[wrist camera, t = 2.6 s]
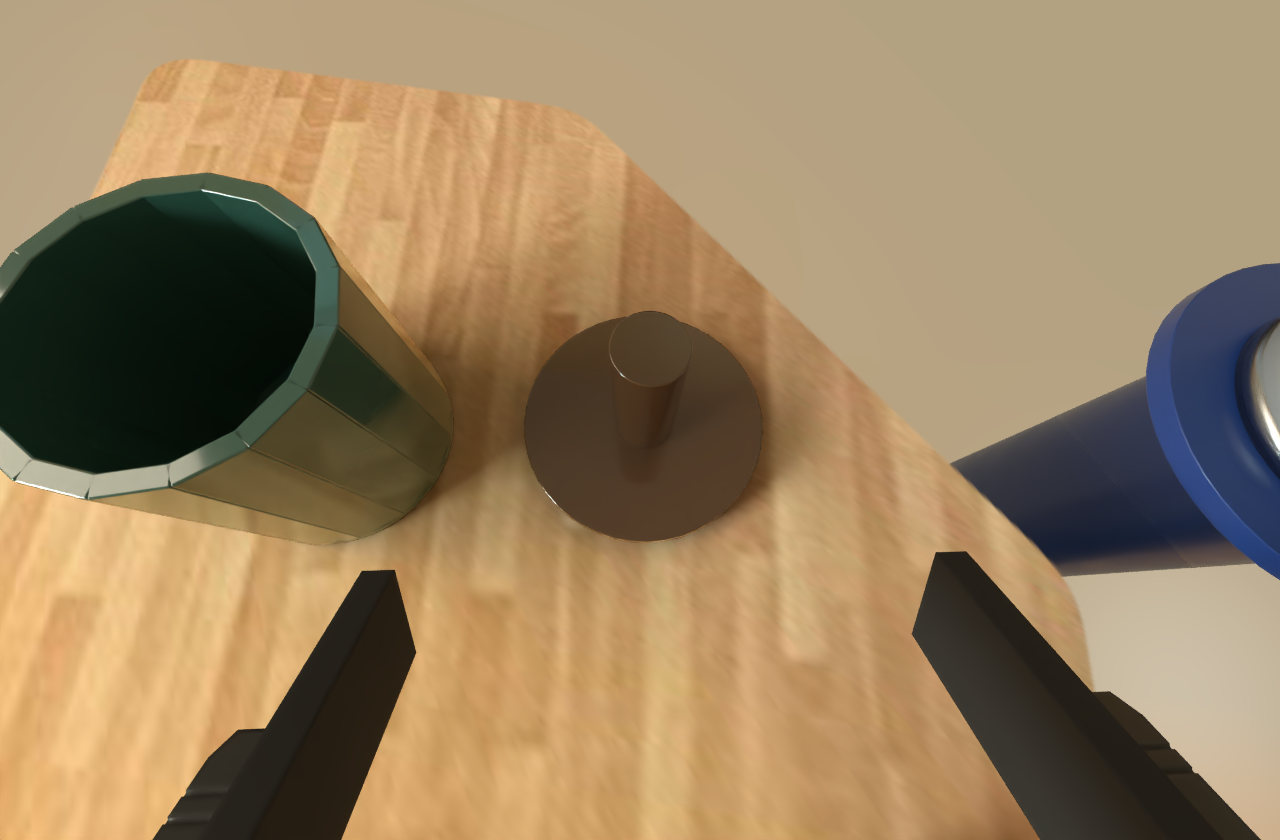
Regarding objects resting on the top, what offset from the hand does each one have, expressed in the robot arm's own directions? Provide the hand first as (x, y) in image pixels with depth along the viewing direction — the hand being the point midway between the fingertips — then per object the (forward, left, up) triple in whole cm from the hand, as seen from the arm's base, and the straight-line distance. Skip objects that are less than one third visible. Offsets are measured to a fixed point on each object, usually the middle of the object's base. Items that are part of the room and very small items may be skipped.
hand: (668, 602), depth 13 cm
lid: (+8, -5, -13) cm, 16 cm away
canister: (+16, +9, -14) cm, 23 cm away
